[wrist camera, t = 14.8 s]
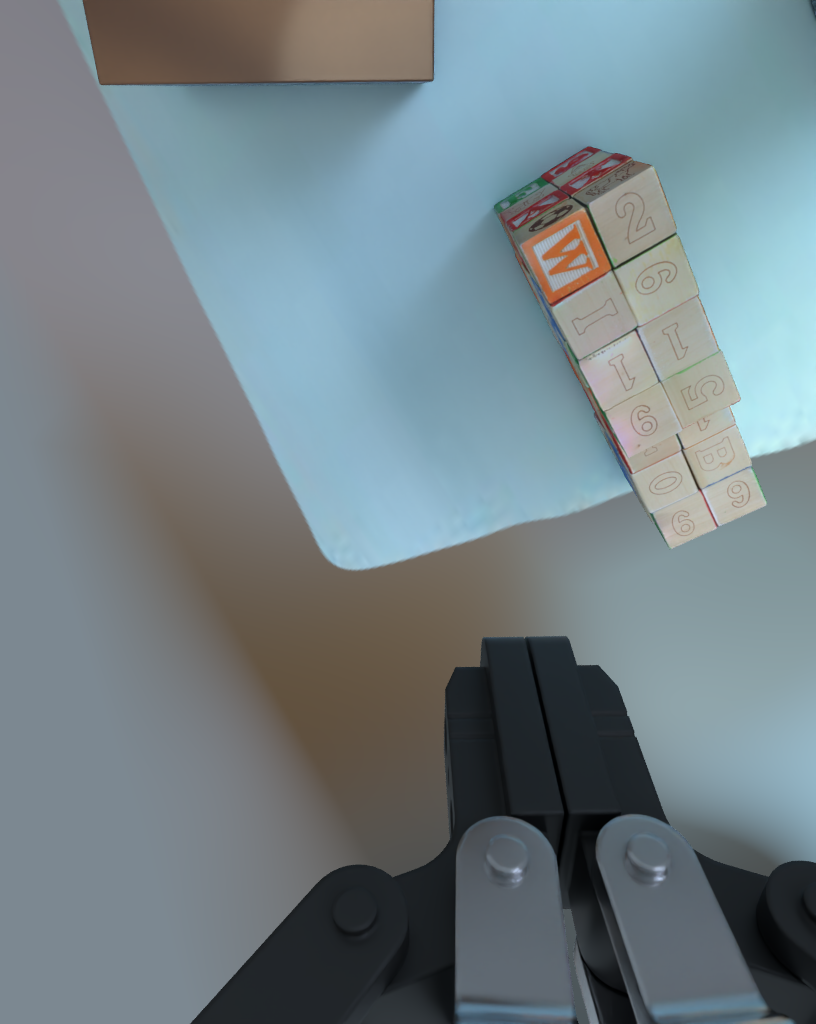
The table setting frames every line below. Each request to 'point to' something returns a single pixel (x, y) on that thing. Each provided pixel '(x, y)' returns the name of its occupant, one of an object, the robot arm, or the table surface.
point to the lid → (261, 41)
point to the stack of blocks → (636, 336)
